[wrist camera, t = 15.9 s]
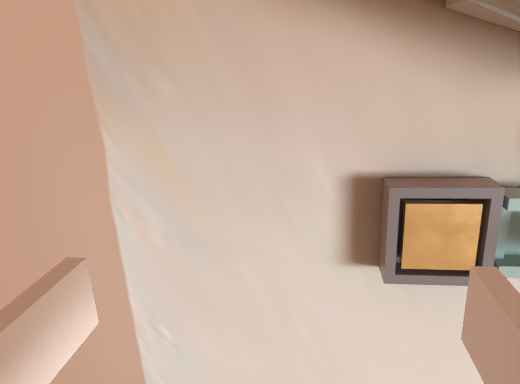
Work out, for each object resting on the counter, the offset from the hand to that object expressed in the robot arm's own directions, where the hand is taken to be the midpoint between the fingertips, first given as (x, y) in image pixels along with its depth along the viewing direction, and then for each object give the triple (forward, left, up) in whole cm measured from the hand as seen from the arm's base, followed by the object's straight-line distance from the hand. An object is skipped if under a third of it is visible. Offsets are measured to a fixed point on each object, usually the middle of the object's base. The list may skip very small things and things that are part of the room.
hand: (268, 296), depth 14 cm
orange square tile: (+9, +13, -26) cm, 31 cm away
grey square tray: (+9, +13, -29) cm, 33 cm away
